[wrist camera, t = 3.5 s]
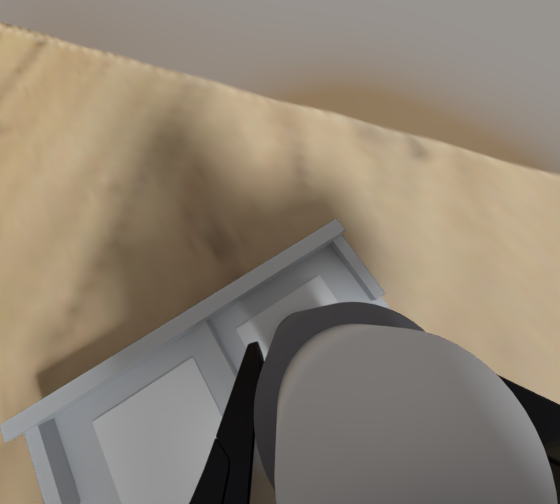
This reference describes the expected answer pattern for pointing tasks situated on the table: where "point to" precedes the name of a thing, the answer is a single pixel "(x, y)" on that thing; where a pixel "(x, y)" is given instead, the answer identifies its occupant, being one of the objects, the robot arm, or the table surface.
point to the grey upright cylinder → (389, 417)
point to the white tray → (178, 383)
